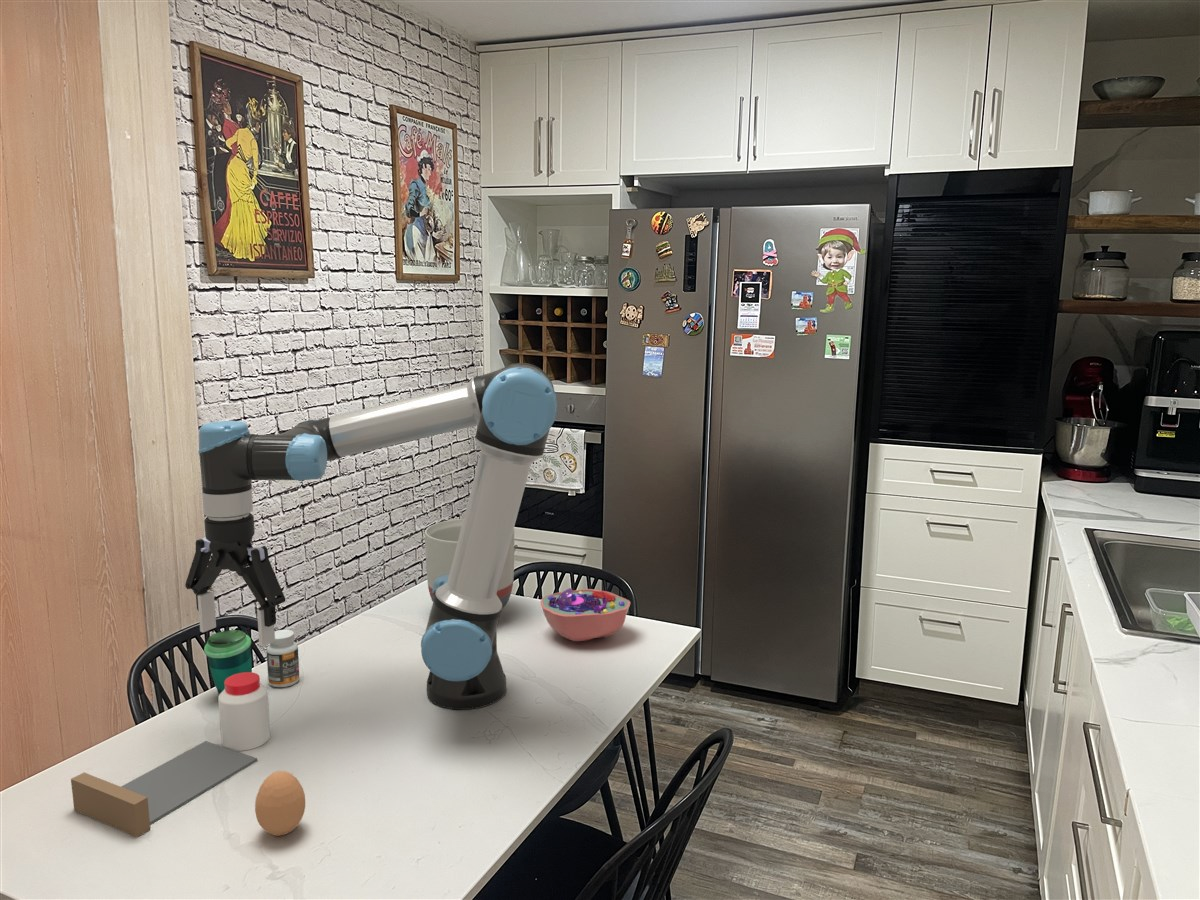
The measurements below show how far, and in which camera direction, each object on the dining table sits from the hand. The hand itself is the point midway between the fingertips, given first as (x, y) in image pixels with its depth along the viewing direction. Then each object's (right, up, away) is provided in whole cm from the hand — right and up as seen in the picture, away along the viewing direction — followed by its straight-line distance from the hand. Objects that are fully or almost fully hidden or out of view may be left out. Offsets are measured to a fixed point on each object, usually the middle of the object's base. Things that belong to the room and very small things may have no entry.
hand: (237, 636), depth 146 cm
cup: (-8, -15, +16) cm, 23 cm away
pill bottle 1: (+1, -18, +1) cm, 18 cm away
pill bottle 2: (0, -14, +22) cm, 26 cm away
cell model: (+58, -10, +46) cm, 75 cm away
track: (-4, -20, -12) cm, 24 cm away
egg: (+17, -23, -24) cm, 37 cm away
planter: (+31, -8, +56) cm, 65 cm away
